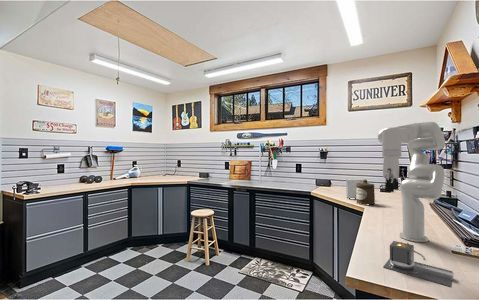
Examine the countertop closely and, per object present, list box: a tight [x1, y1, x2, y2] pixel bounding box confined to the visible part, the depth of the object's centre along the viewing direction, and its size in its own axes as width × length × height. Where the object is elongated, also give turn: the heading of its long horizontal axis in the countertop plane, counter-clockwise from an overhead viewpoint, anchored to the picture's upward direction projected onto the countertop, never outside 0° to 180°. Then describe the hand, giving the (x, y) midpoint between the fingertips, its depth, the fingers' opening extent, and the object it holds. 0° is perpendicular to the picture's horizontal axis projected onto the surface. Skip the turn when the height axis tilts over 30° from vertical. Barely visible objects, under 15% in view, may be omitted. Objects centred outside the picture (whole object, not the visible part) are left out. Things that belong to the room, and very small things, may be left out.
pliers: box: [400, 241, 426, 261], centre depth 113 cm, size 10×1×20 cm
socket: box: [389, 240, 415, 265], centre depth 97 cm, size 7×7×6 cm
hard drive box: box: [345, 178, 364, 199], centre depth 243 cm, size 16×8×20 cm, turn 82°
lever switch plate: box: [383, 253, 454, 288], centre depth 93 cm, size 14×20×6 cm
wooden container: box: [356, 179, 376, 205], centre depth 219 cm, size 15×15×22 cm
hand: (392, 190), depth 112 cm, fingers open, 9 cm apart
